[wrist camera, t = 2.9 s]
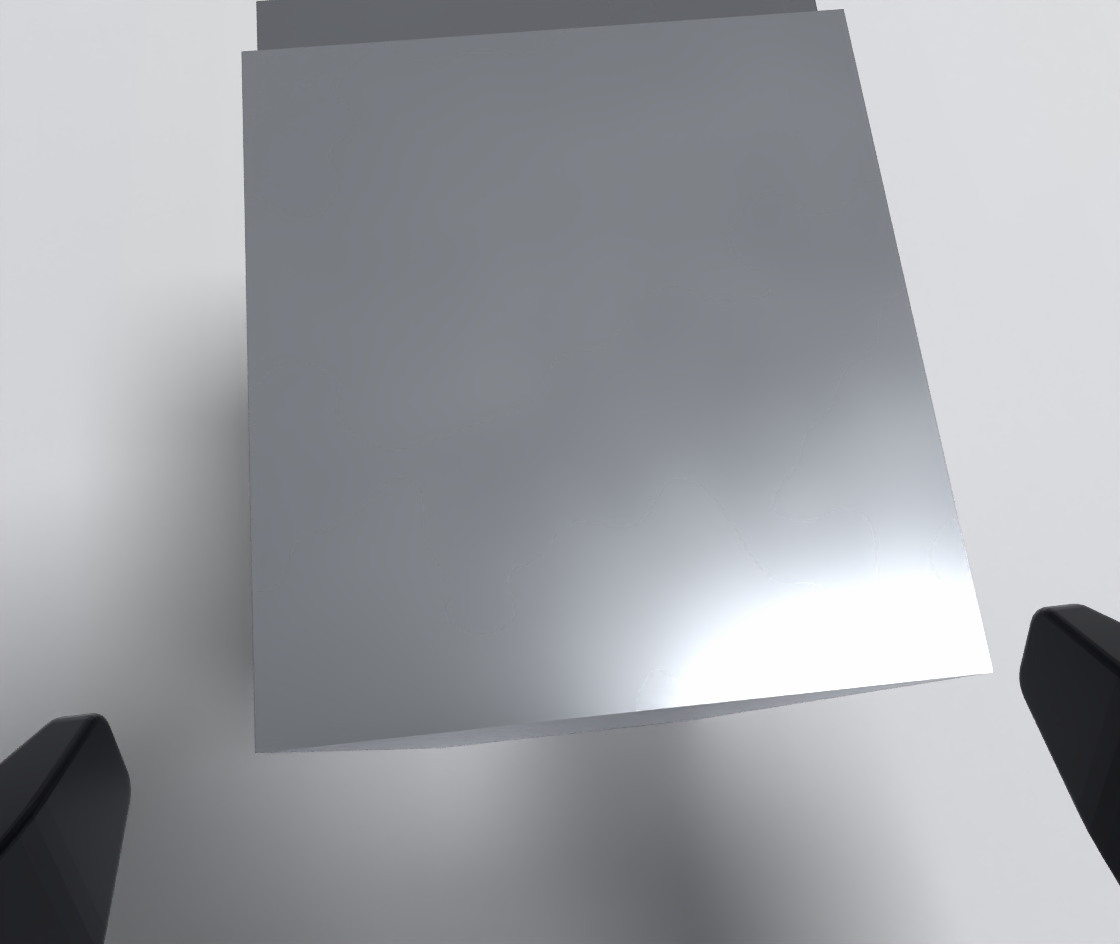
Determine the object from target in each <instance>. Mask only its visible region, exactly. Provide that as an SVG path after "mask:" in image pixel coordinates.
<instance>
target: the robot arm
mask: <svg viewBox="0 0 1120 944" xmlns="http://www.w3.org/2000/svg"><path fill="white" fill-rule="evenodd" d="M1019 680H1020V687H1021V690H1022V694H1023V696H1024V699H1025V701H1026V703H1027V705H1028V707H1029V709H1030V711H1031V714H1032V716H1033V718H1034V720H1035V722H1036V724H1037V726H1038V728H1039V730H1040V733H1041V735H1042V737H1043V739H1044V741H1045V743H1046V745H1047V747H1048V750H1049V752H1050V754H1051V756H1052V758H1053V760H1054V762H1055V764H1056V767H1057V769H1058V771H1059V773H1060V775H1061V777H1062V779H1063V781H1064V784H1065V786H1066V788H1067V790H1068V792H1069V794H1070V796H1071V798H1072V800H1073V803H1074V805H1075V807H1076V809H1077V811H1078V813H1079V815H1080V817H1081V819H1082V821H1083V823H1084V825H1085V827H1086V829H1087V831H1088V833H1089V834H1090V836H1091V838H1092V840H1093V841H1094V843H1095V845H1096V846H1097V848H1098V850H1099V852H1100V853H1101V855H1102V857H1103V859H1104V860H1105V862H1106V864H1107V865H1108V867H1109V868H1110V870H1111V872H1112V873H1113V875H1114V877H1115V878H1116V880H1117V882H1118V883H1119V885H1120V622H1118V621H1116V620H1114V619H1112V618H1110V617H1108V616H1106V615H1103V614H1101V613H1099V612H1097V611H1095V610H1093V609H1091V608H1089V607H1087V606H1084V605H1080V604H1067V605H1059V606H1050V607H1043V608H1041V609H1039V610H1037V611H1036V613H1035V614H1034V615H1033V617H1032V620H1031V623H1030V628H1029V632H1028V636H1027V640H1026V645H1025V649H1024V653H1023V658H1022V662H1021V666H1020V673H1019ZM130 796H131V786H130V778H129V774H128V771H127V769H126V766H125V764H124V761H123V758H122V756H121V753H120V751H119V748H118V746H117V743H116V741H115V738H114V736H113V733H112V731H111V728H110V726H109V724H108V722H107V720H106V719H105V718H104V717H103V716H101V715H99V714H95V713H92V714H83V715H74V716H65V717H60V718H56V719H54V720H52V721H51V722H49V723H48V724H47V725H45V726H44V727H43V728H42V729H41V730H39V731H38V732H37V733H36V734H35V735H33V736H32V737H31V738H30V739H29V740H27V741H26V742H25V743H24V744H23V745H22V746H20V747H19V748H18V749H17V750H16V751H14V752H13V753H12V754H11V755H10V756H8V757H7V758H6V759H5V760H4V761H3V762H1V763H0V944H104V940H105V935H106V930H107V925H108V919H109V914H110V908H111V903H112V897H113V892H114V886H115V881H116V875H117V870H118V864H119V859H120V853H121V848H122V842H123V837H124V832H125V826H126V821H127V815H128V810H129V804H130Z"/></svg>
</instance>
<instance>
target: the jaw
mask: <svg viewBox="0 0 1120 944" xmlns="http://www.w3.org/2000/svg"><path fill="white" fill-rule="evenodd" d="M256 7H257V47H258V50H257V51H243V52H242V99H243V150H244V202H245V253H246V305H247V356H248V408H249V459H250V511H251V562H252V614H253V665H254V717H255V753H280V752H316V751H352V750H388V749H424V748H444V747H453V746H462V745H471V744H480V743H489V742H498V741H507V740H516V739H525V738H534V737H543V736H552V735H561V734H570V733H579V732H588V731H597V730H606V729H616V728H625V727H634V726H643V725H652V724H661V723H670V722H679V721H688V720H697V719H703V718H709V717H715V716H722V715H728V714H734V713H741V712H747V711H753V710H759V709H766V708H772V707H778V706H784V705H791V704H797V703H803V702H809V701H816V700H822V699H828V698H835V697H841V696H847V695H853V694H860V693H866V692H872V691H878V690H885V689H891V688H897V687H904V686H910V685H916V684H922V683H929V682H935V681H941V680H947V679H954V678H960V677H966V676H972V675H979V674H985V673H991V672H993V670H992V665H991V661H990V656H989V652H988V647H987V643H986V639H985V634H984V630H983V625H982V621H981V616H980V612H979V608H978V603H977V599H976V594H975V590H974V585H973V581H972V577H971V572H970V568H969V563H968V559H967V554H966V550H965V546H964V541H963V537H962V532H961V528H960V523H959V519H958V514H957V510H956V506H955V501H954V497H953V492H952V488H951V483H950V479H949V475H948V470H947V466H946V461H945V457H944V452H943V448H942V444H941V439H940V435H939V430H938V426H937V421H936V417H935V413H934V408H933V404H932V399H931V395H930V390H929V386H928V381H927V377H926V373H925V368H924V364H923V359H922V355H921V350H920V346H919V342H918V337H917V333H916V328H915V324H914V319H913V315H912V311H911V306H910V302H909V297H908V293H907V288H906V284H905V280H904V275H903V271H902V266H901V262H900V257H899V253H898V249H897V244H896V240H895V235H894V231H893V226H892V222H891V217H890V213H889V209H888V204H887V200H886V195H885V191H884V186H883V182H882V178H881V173H880V169H879V164H878V160H877V155H876V151H875V147H874V142H873V138H872V133H871V129H870V124H869V120H868V116H867V111H866V107H865V102H864V98H863V93H862V89H861V84H860V80H859V76H858V71H857V67H856V62H855V58H854V53H853V49H852V45H851V40H850V36H849V31H848V27H847V22H846V18H845V14H844V9H839V10H825V11H817V7H816V2H815V0H267V1H256Z"/></svg>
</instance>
